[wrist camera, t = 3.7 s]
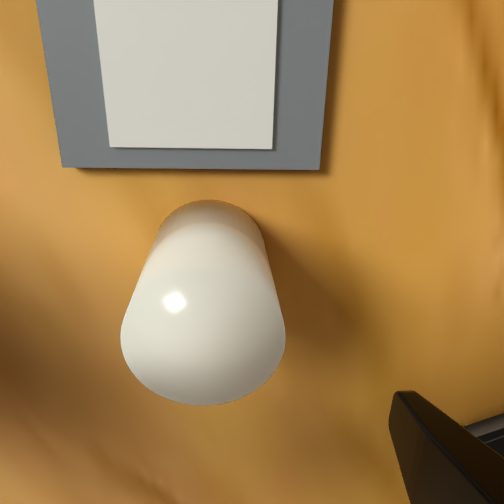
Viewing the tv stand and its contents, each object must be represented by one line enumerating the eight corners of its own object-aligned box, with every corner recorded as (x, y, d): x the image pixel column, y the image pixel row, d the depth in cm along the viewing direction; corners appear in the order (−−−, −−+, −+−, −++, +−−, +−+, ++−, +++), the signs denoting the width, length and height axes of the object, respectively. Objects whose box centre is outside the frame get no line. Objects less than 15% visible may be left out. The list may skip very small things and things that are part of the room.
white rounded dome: (264, 299, 18) (283, 402, 12) (158, 302, 17) (130, 408, 12) (265, 198, 16) (289, 266, 10) (148, 200, 16) (109, 270, 10)
